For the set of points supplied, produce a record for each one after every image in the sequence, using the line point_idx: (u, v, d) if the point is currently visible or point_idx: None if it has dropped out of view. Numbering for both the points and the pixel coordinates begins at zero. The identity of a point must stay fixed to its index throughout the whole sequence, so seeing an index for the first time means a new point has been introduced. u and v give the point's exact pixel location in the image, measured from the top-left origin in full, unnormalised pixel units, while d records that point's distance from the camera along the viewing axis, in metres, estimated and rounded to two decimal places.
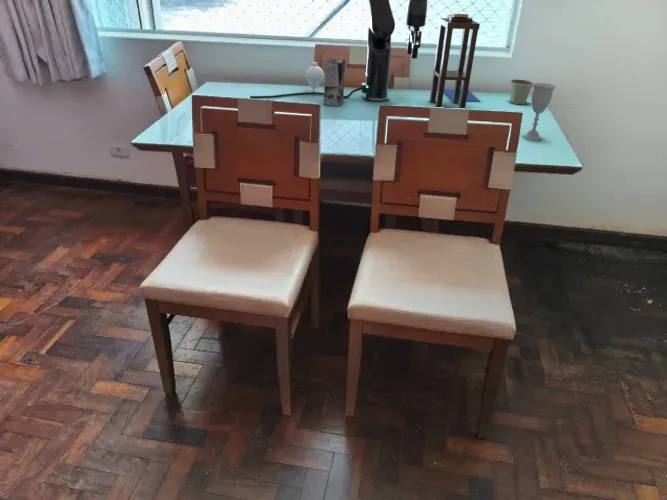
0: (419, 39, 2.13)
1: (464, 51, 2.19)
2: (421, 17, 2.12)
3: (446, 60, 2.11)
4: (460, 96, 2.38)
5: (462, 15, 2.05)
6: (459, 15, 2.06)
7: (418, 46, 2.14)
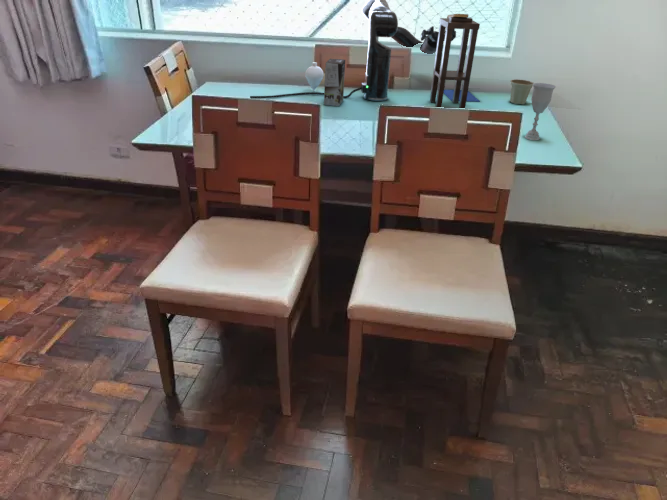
0: (421, 33, 2.37)
1: (464, 51, 2.19)
2: (425, 39, 2.45)
3: (446, 60, 2.11)
4: (460, 96, 2.38)
5: (462, 15, 2.05)
6: (459, 15, 2.06)
7: (423, 31, 2.35)
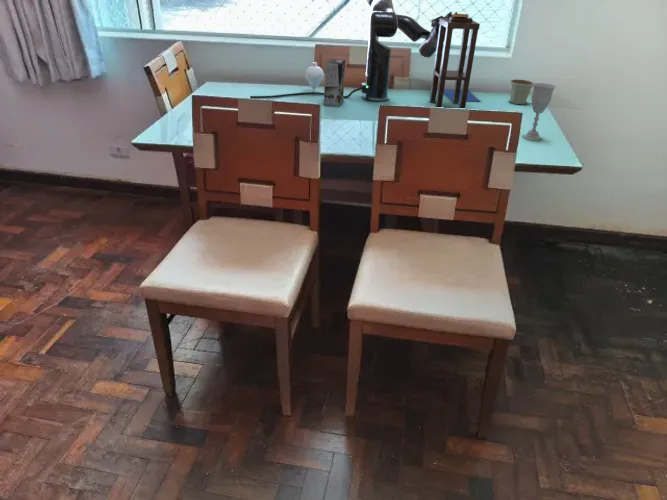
0: (435, 19, 2.23)
1: (464, 51, 2.19)
2: (433, 27, 2.32)
3: (446, 60, 2.11)
4: (460, 96, 2.38)
5: (462, 15, 2.05)
6: (459, 15, 2.06)
7: (440, 17, 2.21)
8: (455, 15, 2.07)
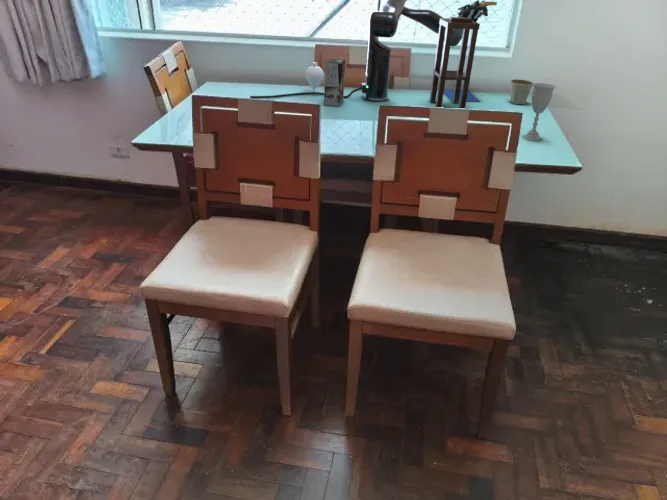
0: (462, 7, 2.28)
1: (464, 51, 2.19)
2: (459, 16, 2.37)
3: (446, 60, 2.11)
4: (460, 96, 2.38)
5: (491, 3, 2.10)
6: (488, 3, 2.11)
7: (468, 6, 2.26)
8: (484, 3, 2.12)
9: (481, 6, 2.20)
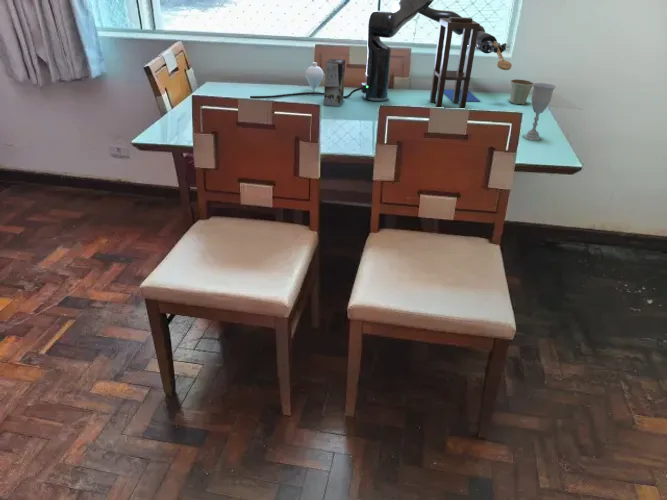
0: (481, 45, 2.33)
1: (464, 51, 2.19)
2: (479, 40, 2.41)
3: (446, 60, 2.11)
4: (460, 96, 2.38)
5: (505, 69, 2.21)
6: (502, 68, 2.21)
7: (486, 46, 2.31)
8: (499, 66, 2.22)
9: (498, 56, 2.28)
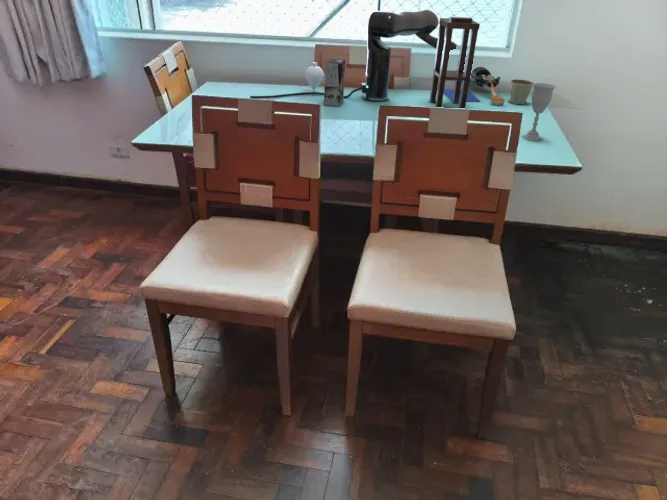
0: (476, 79, 2.40)
1: (464, 51, 2.19)
2: (473, 73, 2.48)
3: (446, 60, 2.11)
4: (460, 96, 2.38)
5: (498, 104, 2.28)
6: (496, 103, 2.28)
7: (480, 80, 2.38)
8: (492, 102, 2.29)
9: (491, 90, 2.35)
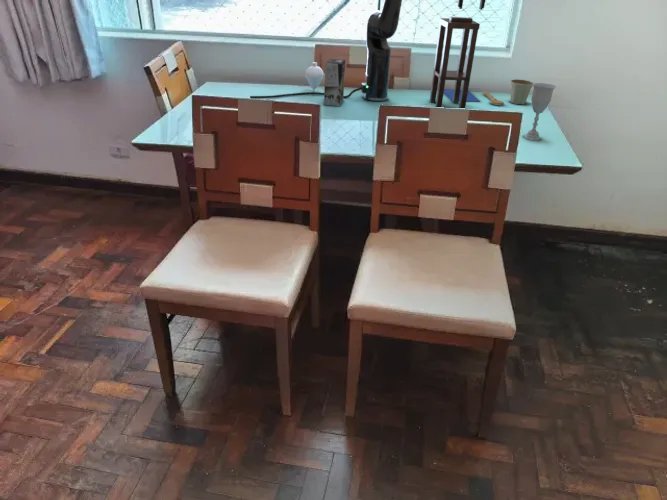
0: None
1: (464, 51, 2.19)
2: None
3: (446, 60, 2.11)
4: (460, 96, 2.38)
5: (498, 104, 2.28)
6: (496, 103, 2.28)
7: None
8: (492, 102, 2.29)
9: None
